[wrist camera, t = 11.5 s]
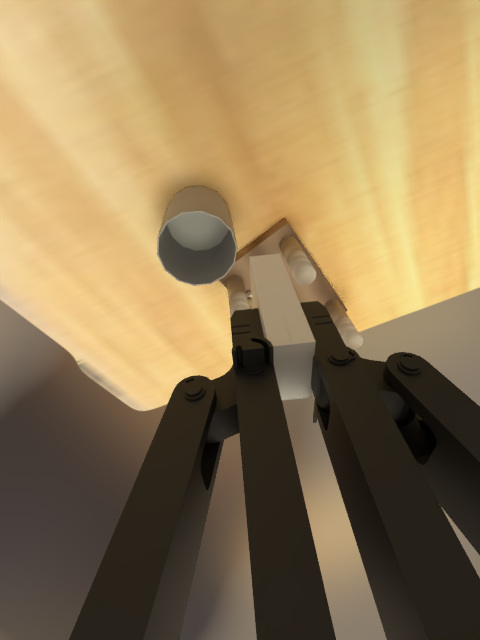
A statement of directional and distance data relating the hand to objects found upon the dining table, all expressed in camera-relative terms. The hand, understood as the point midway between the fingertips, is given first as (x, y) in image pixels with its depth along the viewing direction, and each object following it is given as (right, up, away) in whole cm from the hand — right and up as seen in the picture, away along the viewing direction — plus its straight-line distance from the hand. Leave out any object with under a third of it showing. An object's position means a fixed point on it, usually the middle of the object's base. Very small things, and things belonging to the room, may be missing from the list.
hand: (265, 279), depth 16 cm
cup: (-7, +11, +26) cm, 29 cm away
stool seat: (+5, +3, +33) cm, 33 cm away
